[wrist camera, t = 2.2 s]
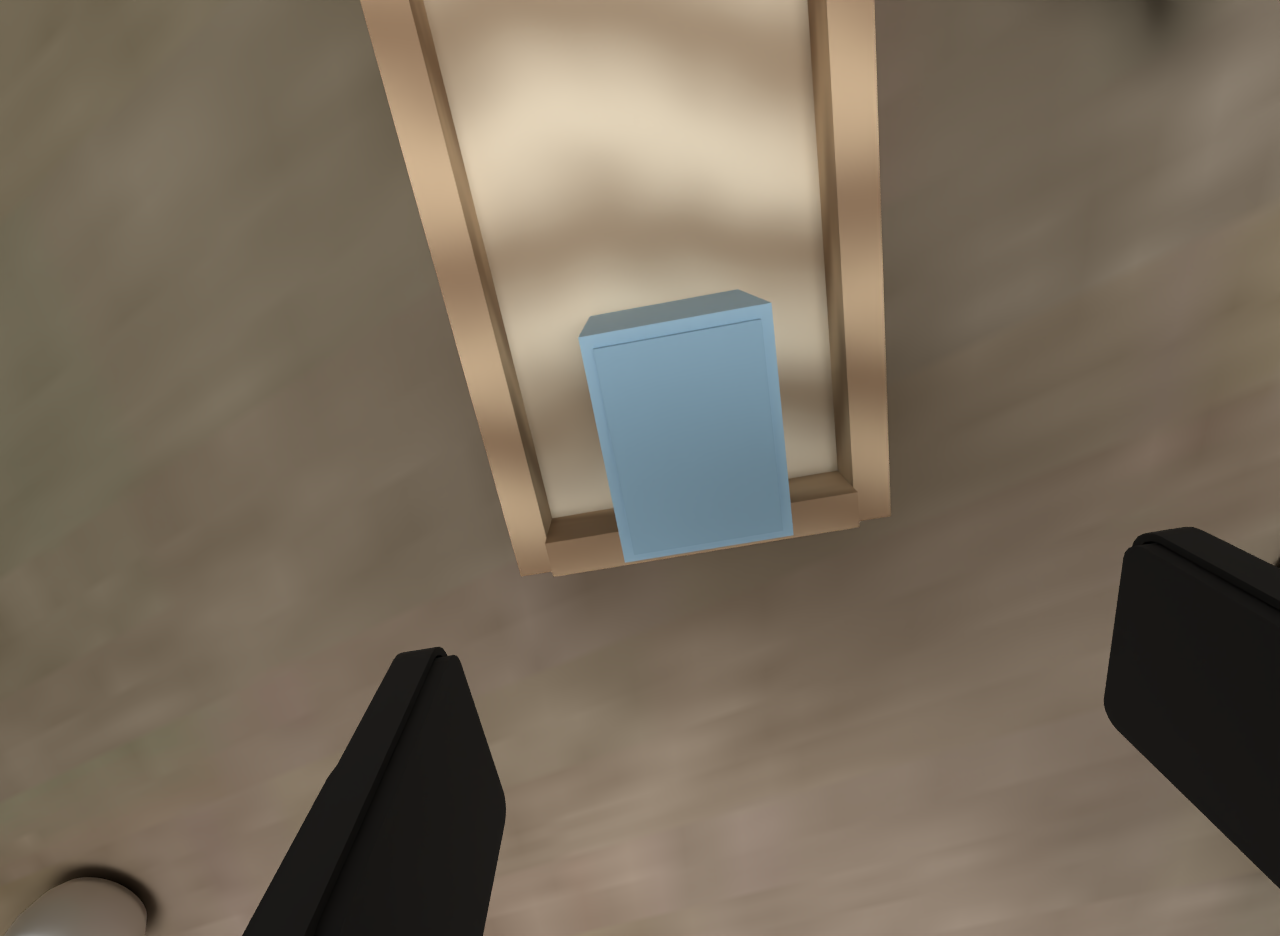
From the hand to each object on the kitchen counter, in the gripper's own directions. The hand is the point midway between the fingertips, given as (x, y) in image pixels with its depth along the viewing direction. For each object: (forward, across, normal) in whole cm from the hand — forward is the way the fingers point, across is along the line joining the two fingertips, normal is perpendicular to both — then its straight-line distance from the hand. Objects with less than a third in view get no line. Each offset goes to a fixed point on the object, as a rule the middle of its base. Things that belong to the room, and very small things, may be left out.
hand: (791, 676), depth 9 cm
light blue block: (+18, 0, 0) cm, 18 cm away
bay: (+19, 0, -5) cm, 20 cm away
